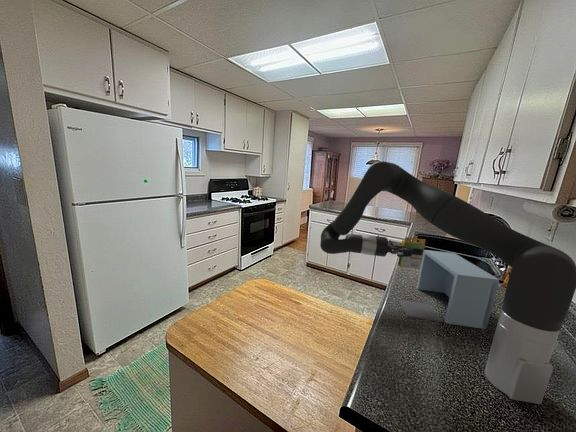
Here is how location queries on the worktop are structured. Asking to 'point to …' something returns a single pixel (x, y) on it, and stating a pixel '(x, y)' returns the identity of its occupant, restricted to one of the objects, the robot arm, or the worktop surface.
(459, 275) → the cubby
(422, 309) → the mat
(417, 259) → the crayon box
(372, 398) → the worktop surface
